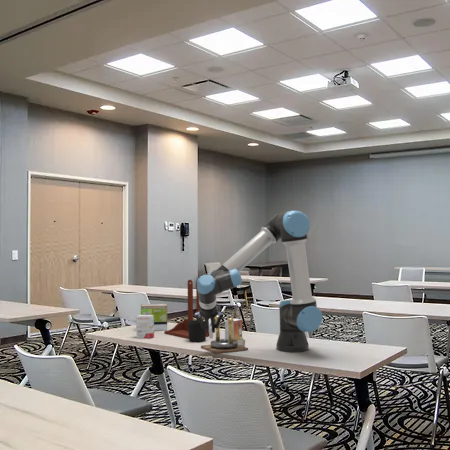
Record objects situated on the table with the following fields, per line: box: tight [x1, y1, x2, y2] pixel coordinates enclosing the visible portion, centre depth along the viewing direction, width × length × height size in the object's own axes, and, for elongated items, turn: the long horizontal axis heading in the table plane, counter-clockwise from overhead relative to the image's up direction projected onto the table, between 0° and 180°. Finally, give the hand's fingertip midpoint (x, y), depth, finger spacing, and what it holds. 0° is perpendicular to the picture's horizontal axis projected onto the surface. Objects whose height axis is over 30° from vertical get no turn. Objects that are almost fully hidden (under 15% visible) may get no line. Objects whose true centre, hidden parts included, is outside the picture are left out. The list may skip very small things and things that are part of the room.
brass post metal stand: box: [210, 315, 238, 348], centre depth 256 cm, size 13×13×14 cm
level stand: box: [200, 336, 249, 355], centre depth 255 cm, size 17×17×6 cm
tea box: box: [140, 303, 168, 332], centre depth 314 cm, size 15×10×15 cm, turn 102°
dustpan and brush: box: [163, 279, 210, 340], centre depth 295 cm, size 24×13×30 cm, turn 41°
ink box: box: [135, 314, 155, 339], centre depth 289 cm, size 9×5×12 cm, turn 79°
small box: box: [224, 318, 243, 341], centre depth 278 cm, size 8×6×10 cm
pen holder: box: [188, 319, 207, 343], centre depth 278 cm, size 9×9×10 cm
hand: (211, 335), depth 251 cm, fingers closed
